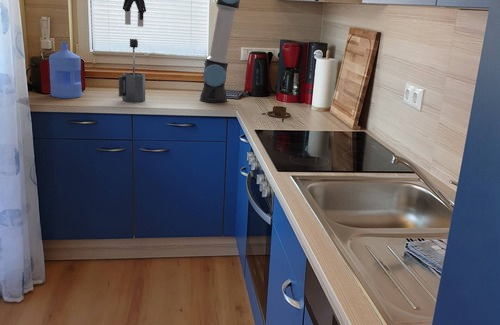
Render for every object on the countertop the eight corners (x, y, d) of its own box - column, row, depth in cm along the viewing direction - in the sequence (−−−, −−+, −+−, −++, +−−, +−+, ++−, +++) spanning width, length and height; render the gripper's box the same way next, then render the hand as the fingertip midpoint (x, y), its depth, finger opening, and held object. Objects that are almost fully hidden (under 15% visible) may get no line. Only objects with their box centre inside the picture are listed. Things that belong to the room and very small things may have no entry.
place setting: (299, 117, 260) (300, 106, 259) (285, 124, 243) (286, 112, 241) (268, 112, 267) (268, 101, 265) (252, 118, 250) (252, 106, 248)
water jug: (45, 94, 270) (42, 40, 261) (72, 92, 281) (70, 40, 273) (60, 99, 260) (57, 43, 252) (87, 97, 272) (86, 43, 263)
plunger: (137, 77, 272) (137, 38, 266) (144, 79, 266) (144, 39, 260) (123, 78, 267) (123, 38, 261) (130, 80, 261) (130, 39, 255)
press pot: (138, 98, 278) (138, 72, 273) (148, 102, 270) (148, 75, 265) (114, 99, 269) (114, 73, 265) (124, 103, 261) (124, 76, 257)
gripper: (116, -20, 259) (116, 23, 265) (139, -19, 241) (139, 27, 247) (129, -19, 264) (129, 23, 270) (153, -18, 246) (152, 27, 252)
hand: (134, 25), depth 259 cm, fingers open, 13 cm apart
